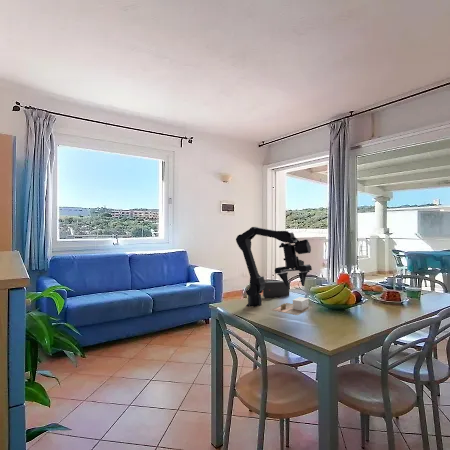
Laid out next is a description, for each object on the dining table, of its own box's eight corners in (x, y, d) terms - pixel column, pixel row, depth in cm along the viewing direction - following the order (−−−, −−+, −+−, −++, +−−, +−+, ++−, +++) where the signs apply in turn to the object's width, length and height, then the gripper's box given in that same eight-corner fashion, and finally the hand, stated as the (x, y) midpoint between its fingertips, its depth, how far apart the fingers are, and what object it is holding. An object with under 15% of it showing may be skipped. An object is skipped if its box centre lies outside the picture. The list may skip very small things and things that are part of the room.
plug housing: (292, 308, 160) (292, 299, 160) (301, 304, 168) (301, 296, 168) (302, 310, 157) (302, 301, 157) (310, 306, 165) (310, 297, 165)
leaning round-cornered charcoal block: (287, 295, 193) (287, 280, 193) (289, 297, 189) (289, 281, 189) (261, 296, 191) (261, 281, 191) (263, 298, 186) (263, 282, 186)
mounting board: (270, 311, 158) (270, 305, 158) (286, 304, 172) (286, 298, 172) (297, 316, 149) (297, 309, 149) (313, 308, 163) (313, 302, 163)
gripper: (314, 251, 158) (320, 283, 157) (284, 255, 171) (288, 284, 170) (302, 254, 150) (308, 287, 149) (271, 257, 164) (276, 287, 162)
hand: (295, 286), depth 158 cm, fingers open, 9 cm apart
